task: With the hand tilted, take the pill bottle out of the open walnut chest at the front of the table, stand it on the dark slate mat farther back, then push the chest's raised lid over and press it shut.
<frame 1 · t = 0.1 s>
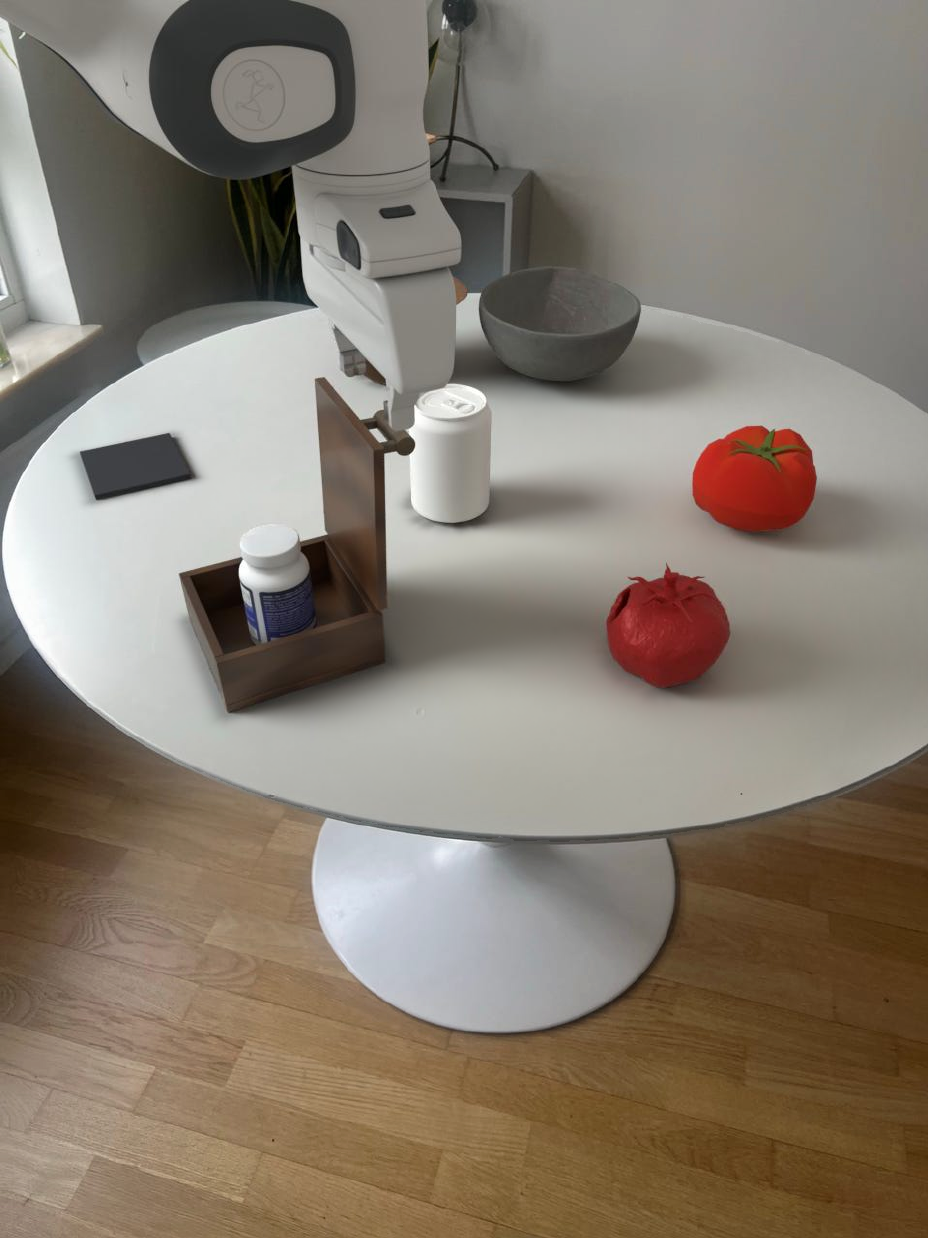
hand: (375, 397, 70), 21 cm above the table, tool pointing down, fingers open, 8 cm apart
tomato: (749, 517, 96), on the table
bowl: (554, 372, 122), on the table
beverage can: (450, 507, 97), on the table
mat: (135, 466, 103), on the table
pitcher: (400, 370, 122), on the table
red crowned fruit: (660, 660, 79), on the table
pill bottle: (284, 635, 80), point 1 cm above the table, touching chest
chest: (285, 641, 81), on the table
chest lid: (374, 488, 75), point 13 cm above the table, hinge at 92.0°
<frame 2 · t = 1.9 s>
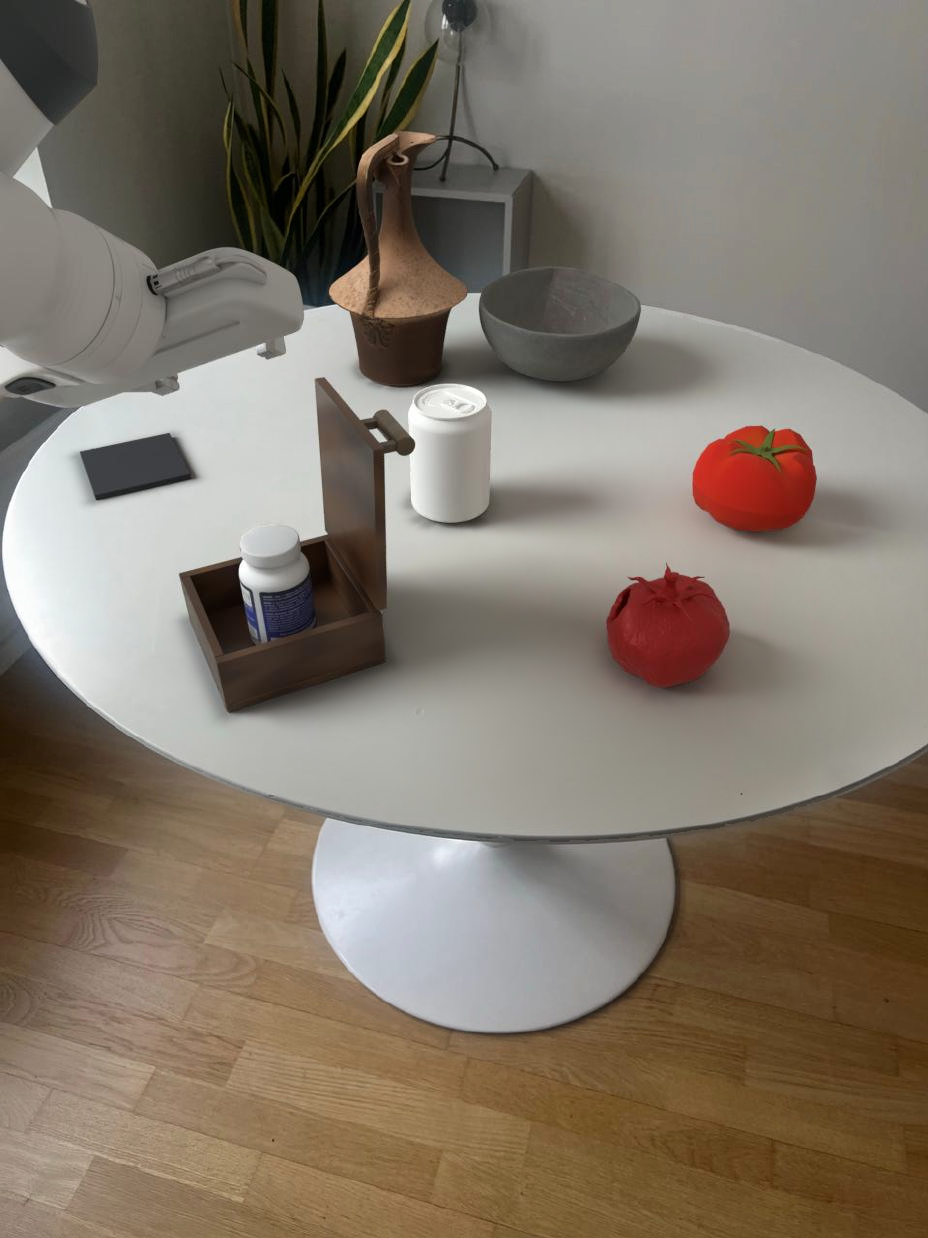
hand: (222, 365, 70), 23 cm above the table, tool tilted 50°, fingers open, 8 cm apart
nothing on the table moved.
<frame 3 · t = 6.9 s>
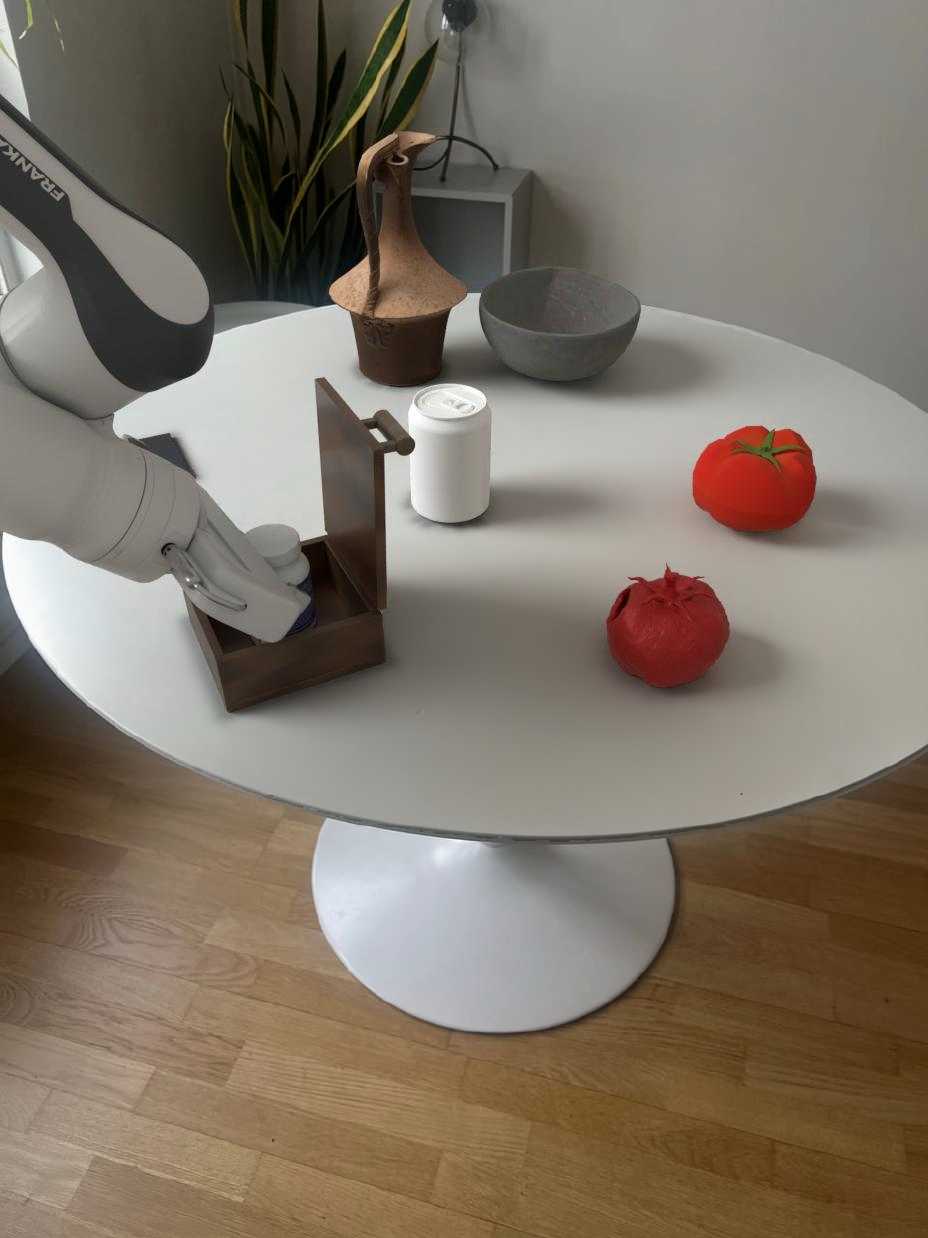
hand: (283, 579, 77), 6 cm above the table, tool tilted 45°, fingers closed on pill bottle, 6 cm apart
pill bottle: (284, 635, 80), point 1 cm above the table, touching chest, gripper
everything else where it was.
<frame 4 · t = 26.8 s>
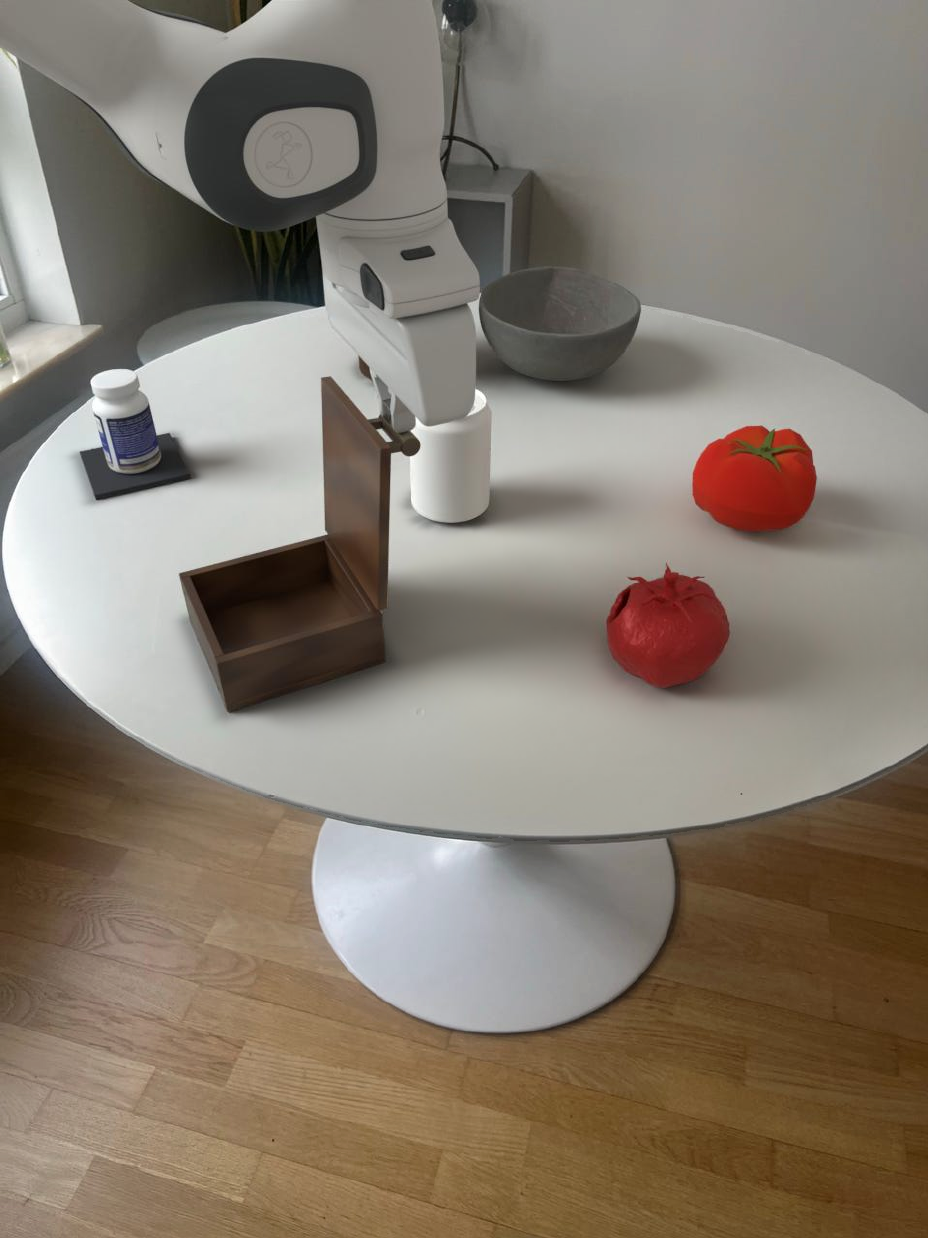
hand: (398, 423, 73), 18 cm above the table, tool pointing down, fingers closed, pressing on chest lid
pill bottle: (135, 463, 102), resting on mat
chest lid: (378, 489, 76), point 13 cm above the table, hinge at 94.1°, touching gripper
everything else where it was.
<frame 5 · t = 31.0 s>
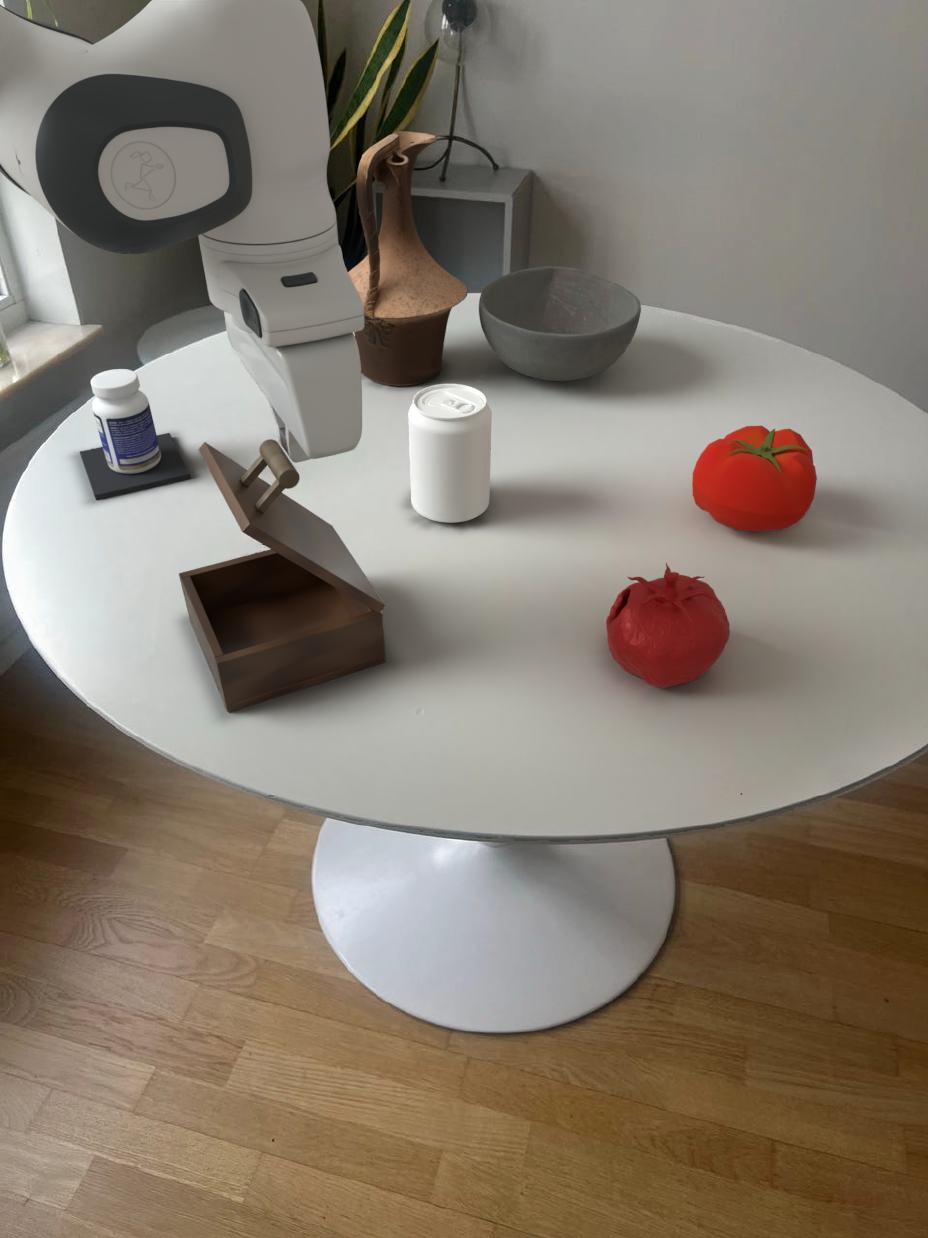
hand: (296, 452, 70), 18 cm above the table, tool pointing down, fingers closed
chest lid: (309, 509, 74), point 13 cm above the table, hinge at 48.3°, touching gripper
everything else where it was.
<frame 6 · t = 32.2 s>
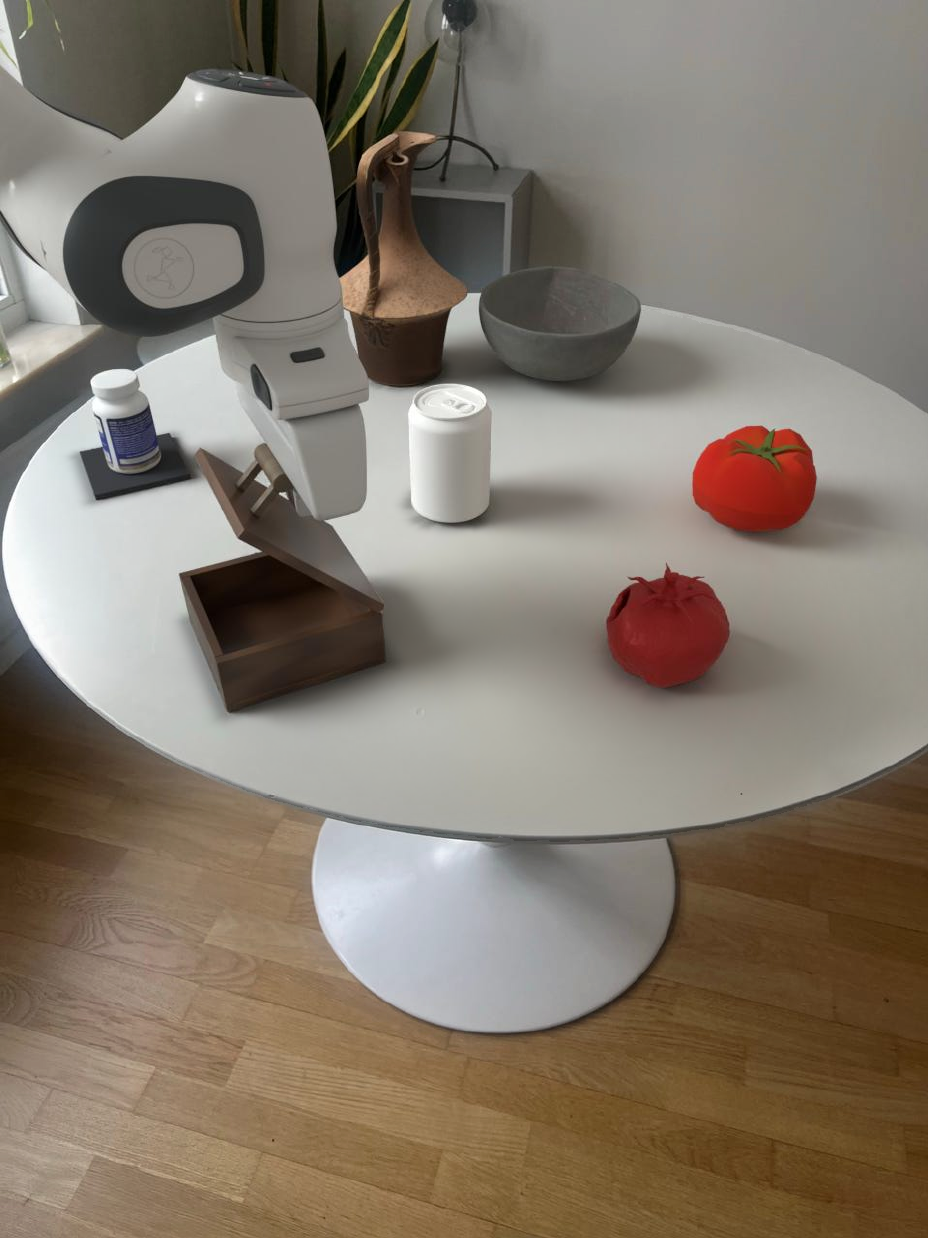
hand: (303, 506, 73), 13 cm above the table, tool pointing down, fingers closed
chest lid: (306, 511, 74), point 12 cm above the table, hinge at 46.0°
everything else where it was.
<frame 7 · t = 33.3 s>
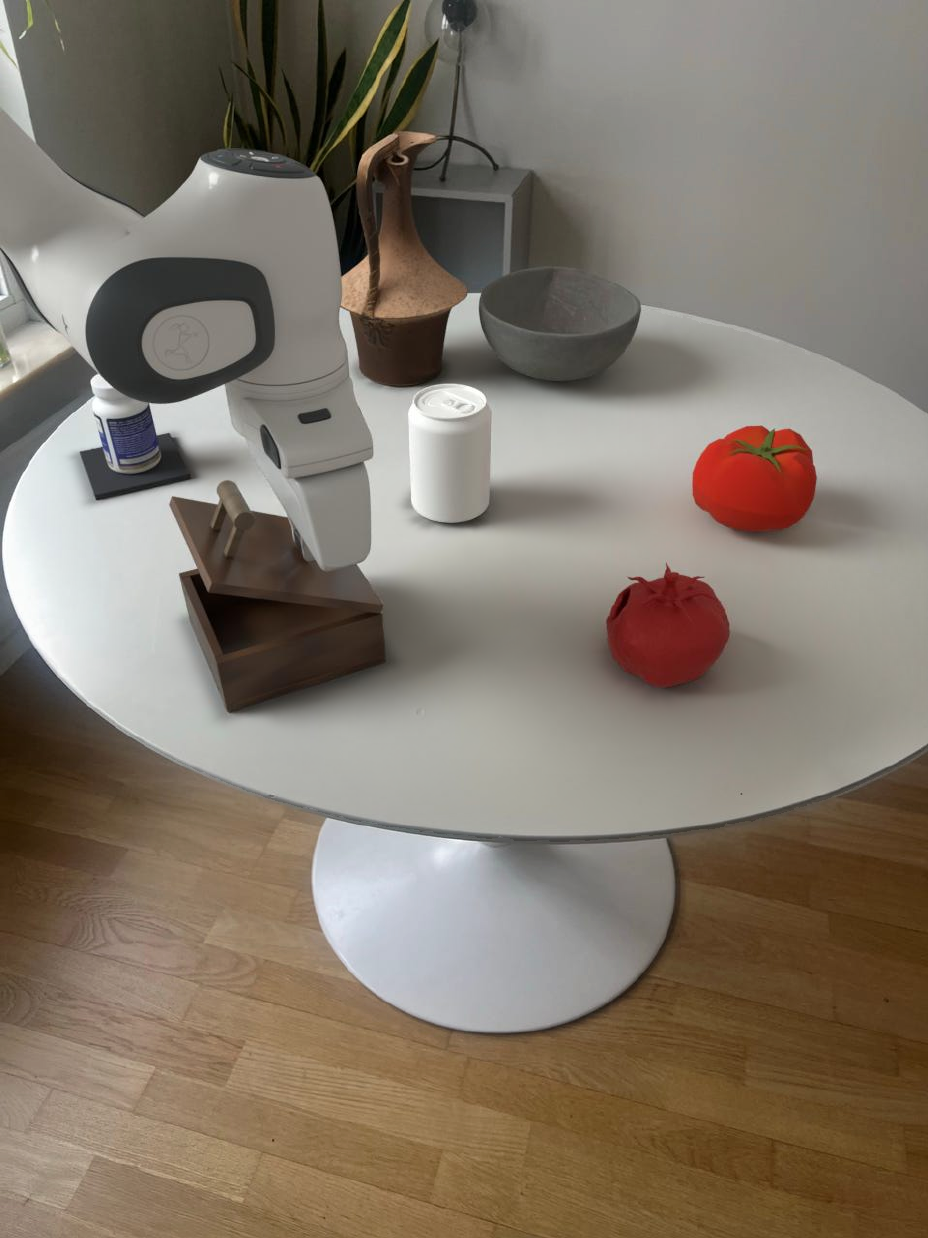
hand: (309, 550, 76), 9 cm above the table, tool pointing down, fingers closed
chest lid: (285, 533, 74), point 11 cm above the table, hinge at 27.2°, touching gripper
everything else where it was.
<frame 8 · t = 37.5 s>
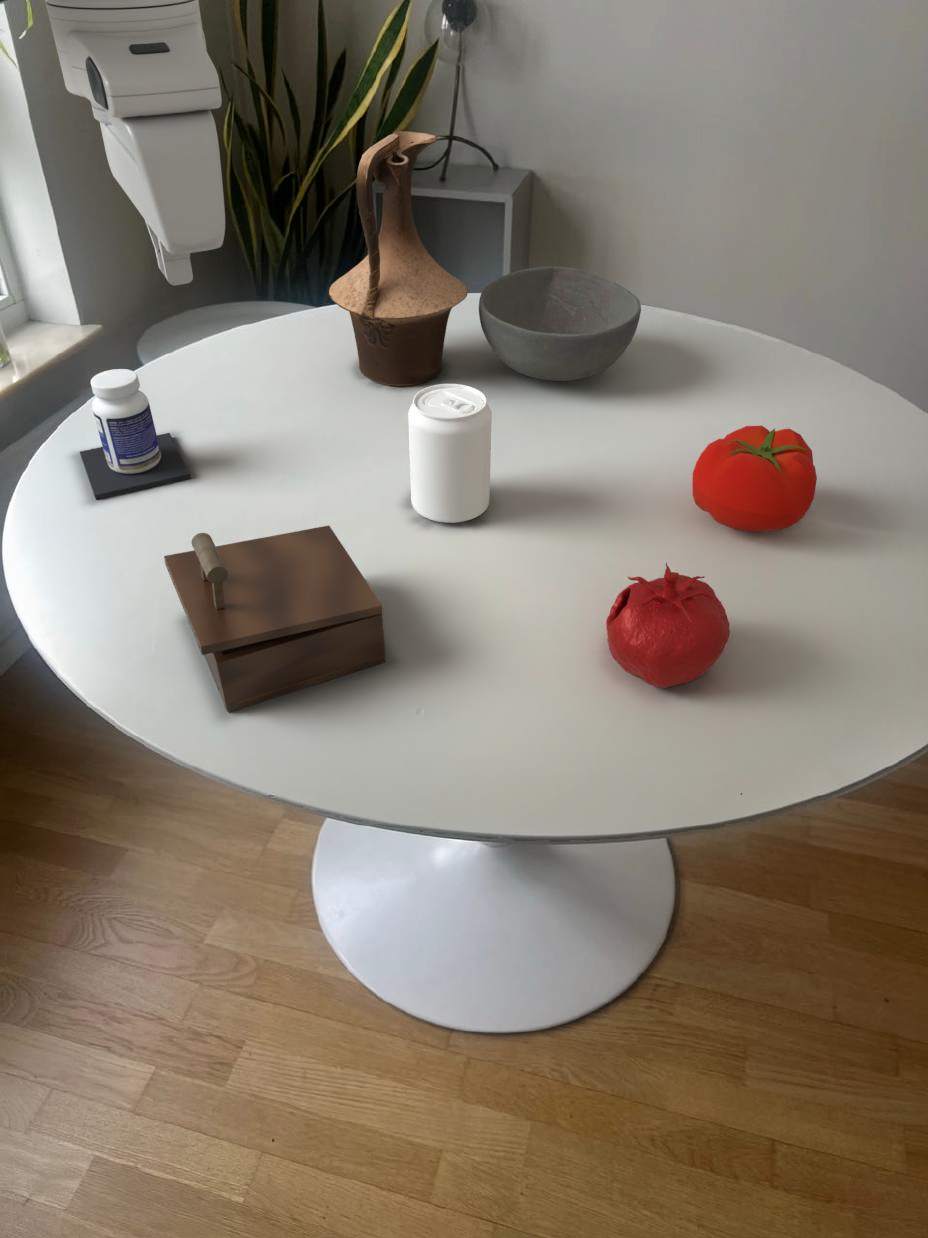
hand: (177, 277, 67), 29 cm above the table, tool pointing down, fingers closed
chest lid: (270, 563, 75), point 8 cm above the table, hinge at 4.7°
everything else where it was.
at the end: pill bottle inside the target area on the mat (0.1 cm from its centre), point 0.4 cm above the mat's base; pill bottle tilted 0°; chest lid at +5° (first picture: +92°) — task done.
